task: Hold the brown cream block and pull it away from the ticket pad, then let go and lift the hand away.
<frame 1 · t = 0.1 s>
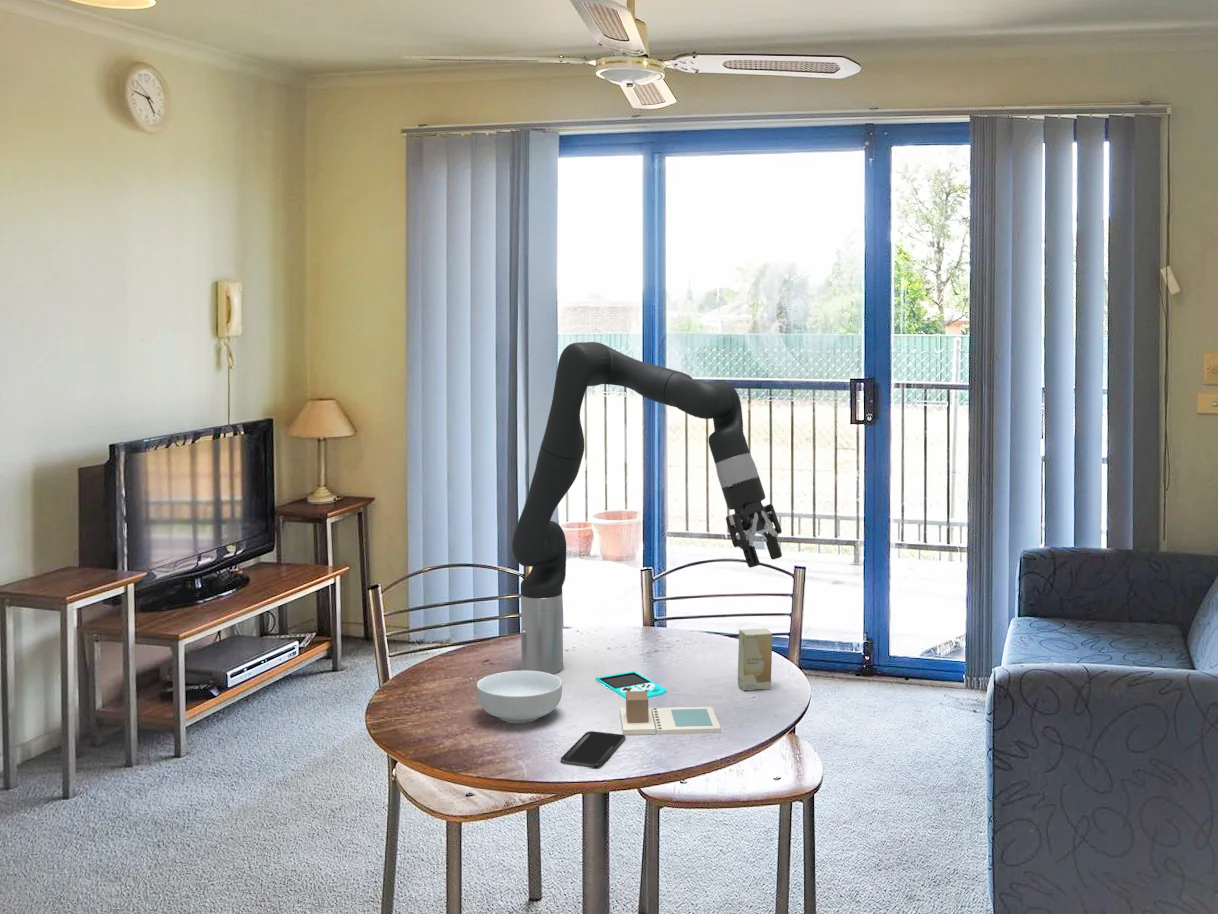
hand: (765, 562, 212), 31 cm above the table, tool tilted 20°, fingers open, 8 cm apart
ticket pad: (685, 722, 215), on the table
phone: (594, 754, 202), on the table
brown cream block: (637, 709, 215), point 3 cm above the table, slide at 0.0 cm
handheld game console: (631, 690, 237), on the table
skincare box: (754, 688, 236), on the table
cereal bowl: (520, 717, 220), on the table
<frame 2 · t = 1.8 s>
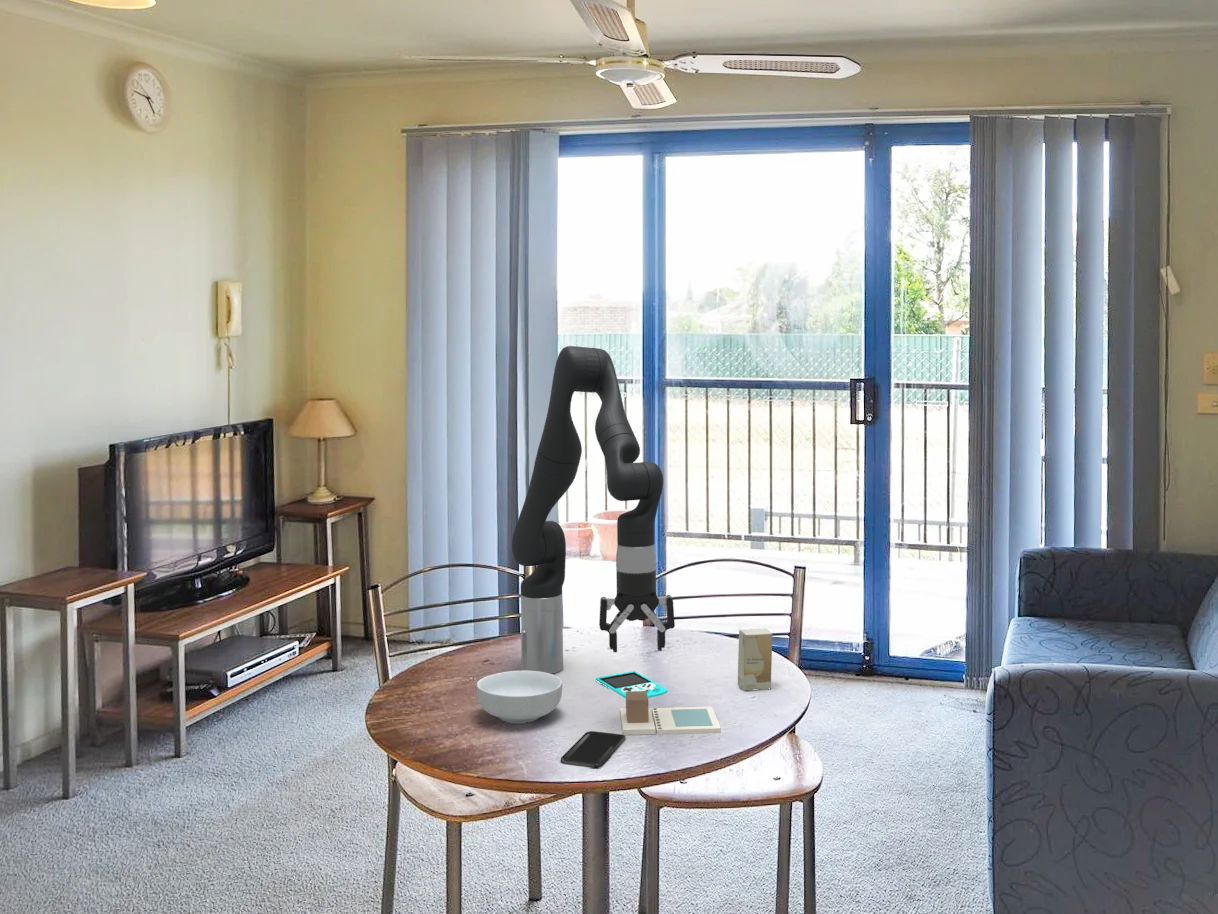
hand: (637, 650, 213), 15 cm above the table, tool pointing down, fingers open, 8 cm apart
nothing on the table moved.
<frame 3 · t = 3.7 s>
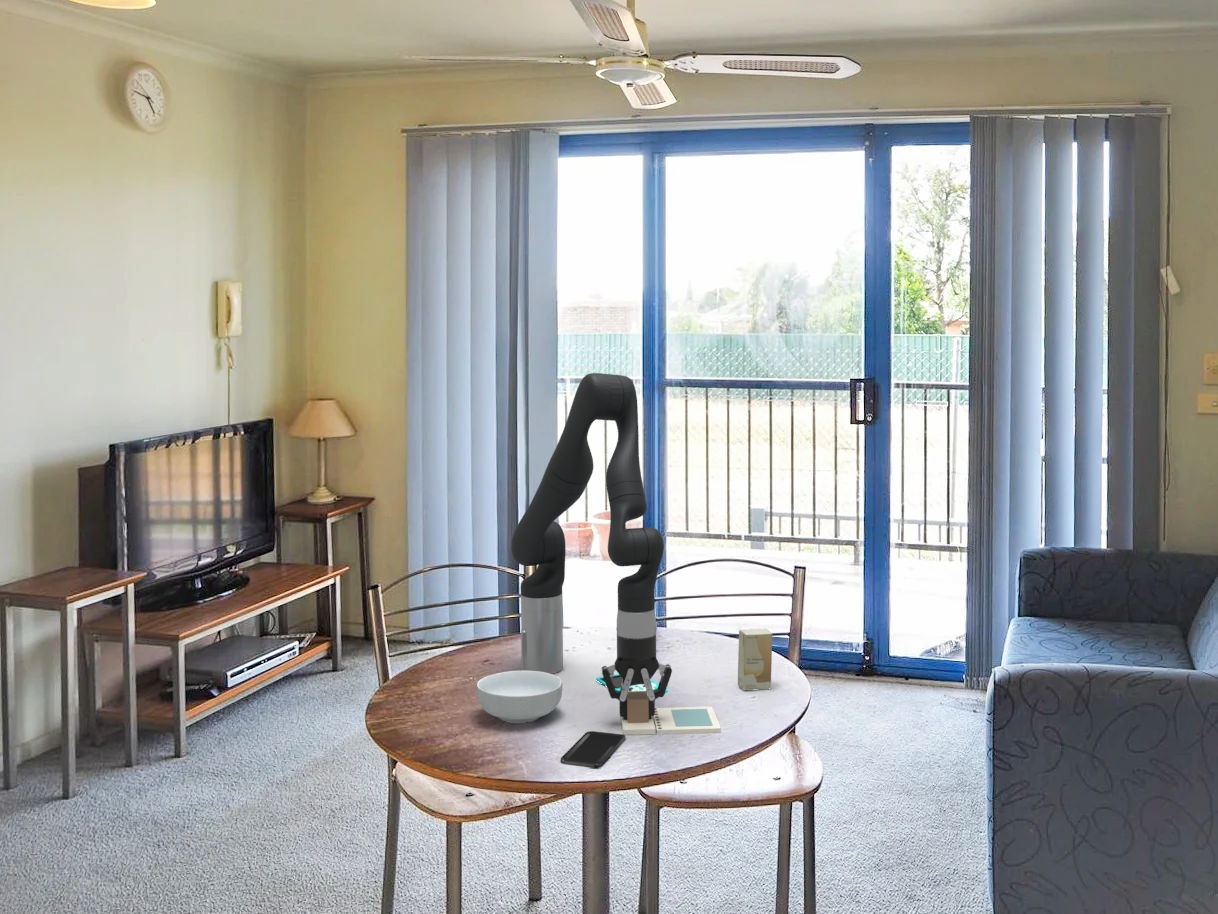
hand: (637, 717, 215), 1 cm above the table, tool pointing down, fingers closed on brown cream block, 4 cm apart
brown cream block: (637, 709, 215), point 3 cm above the table, slide at 0.0 cm, touching gripper
everything else where it was.
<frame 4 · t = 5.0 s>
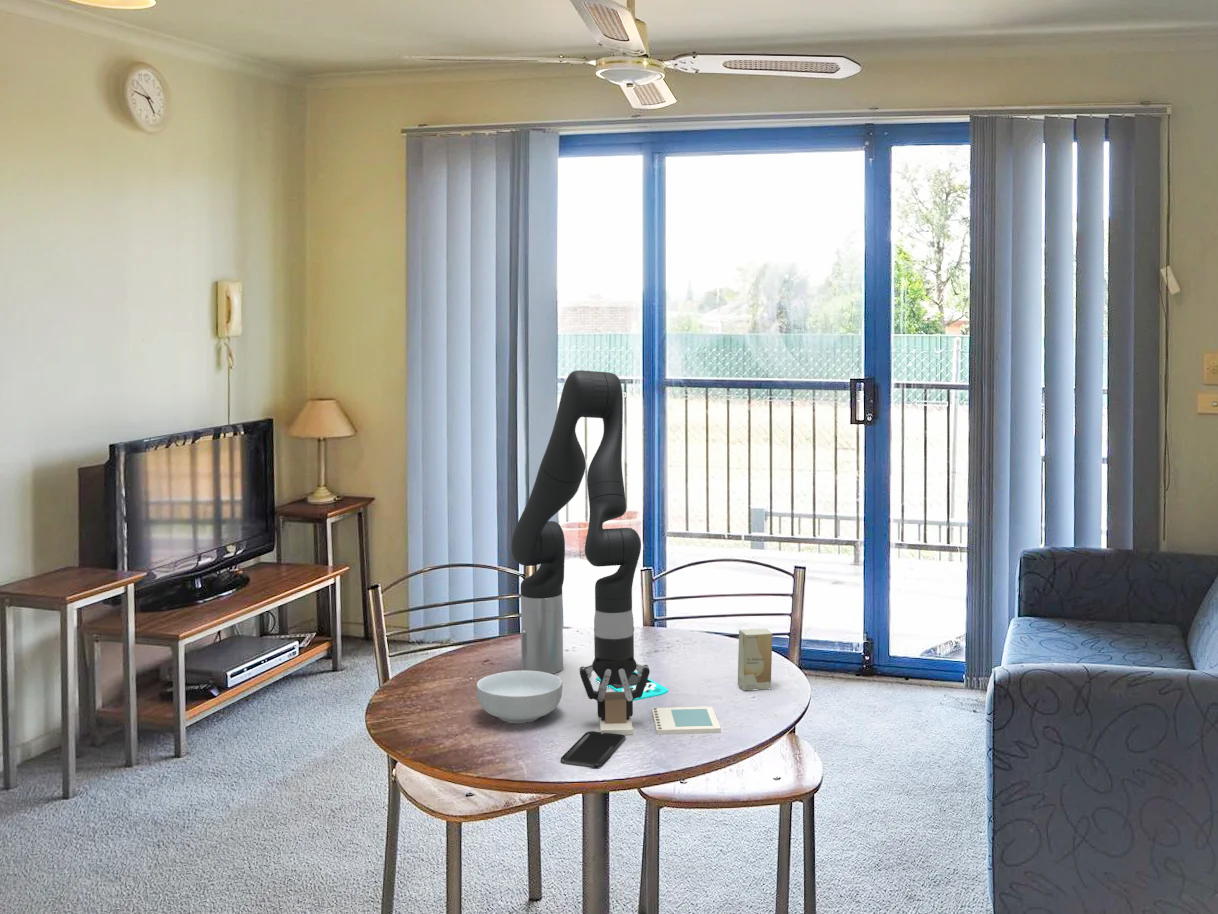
hand: (615, 718, 215), 1 cm above the table, tool pointing down, fingers closed on brown cream block, 4 cm apart
brown cream block: (615, 709, 214), point 3 cm above the table, slide at 4.2 cm, touching gripper
everything else where it was.
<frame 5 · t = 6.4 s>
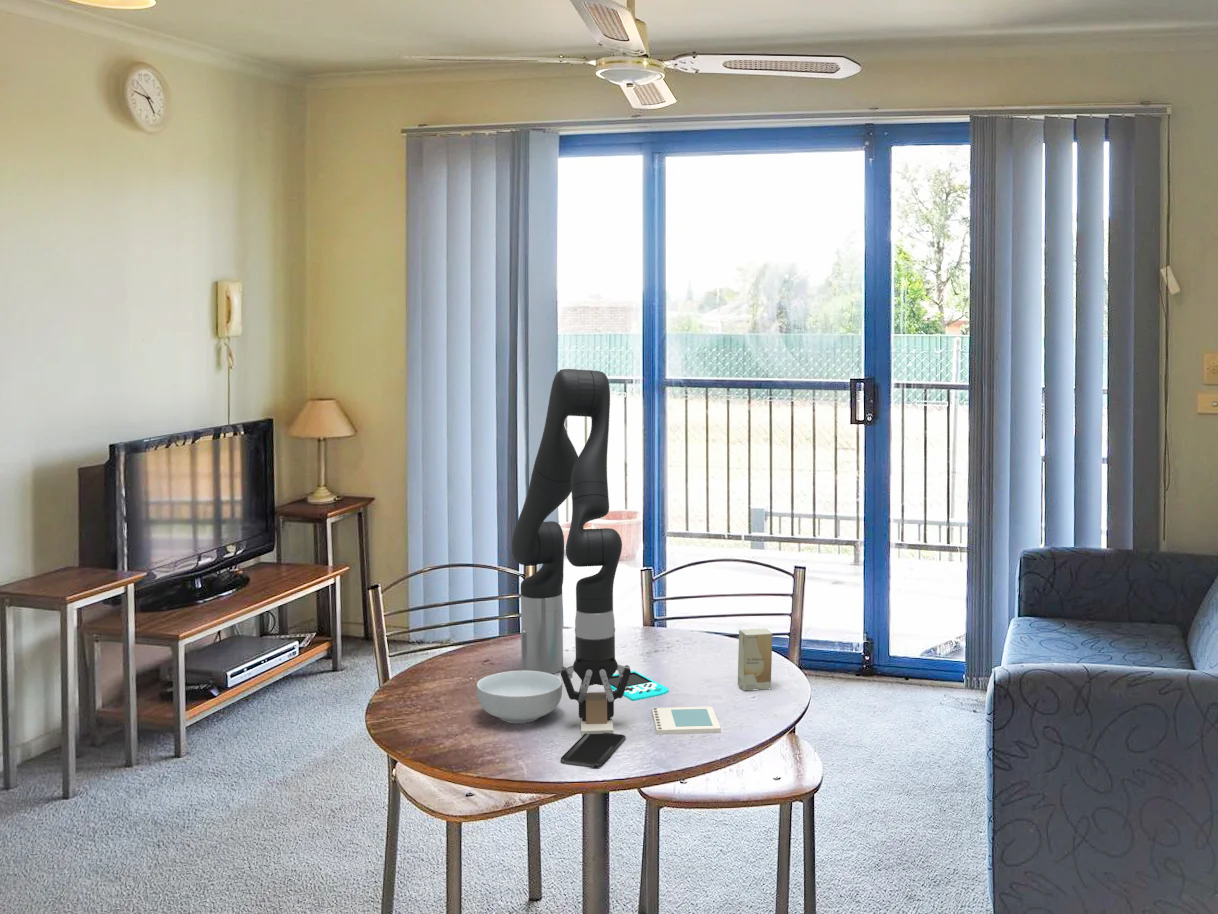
hand: (596, 718, 214), 1 cm above the table, tool pointing down, fingers closed on brown cream block, 4 cm apart
brown cream block: (596, 710, 214), point 3 cm above the table, slide at 7.9 cm, touching gripper
everything else where it was.
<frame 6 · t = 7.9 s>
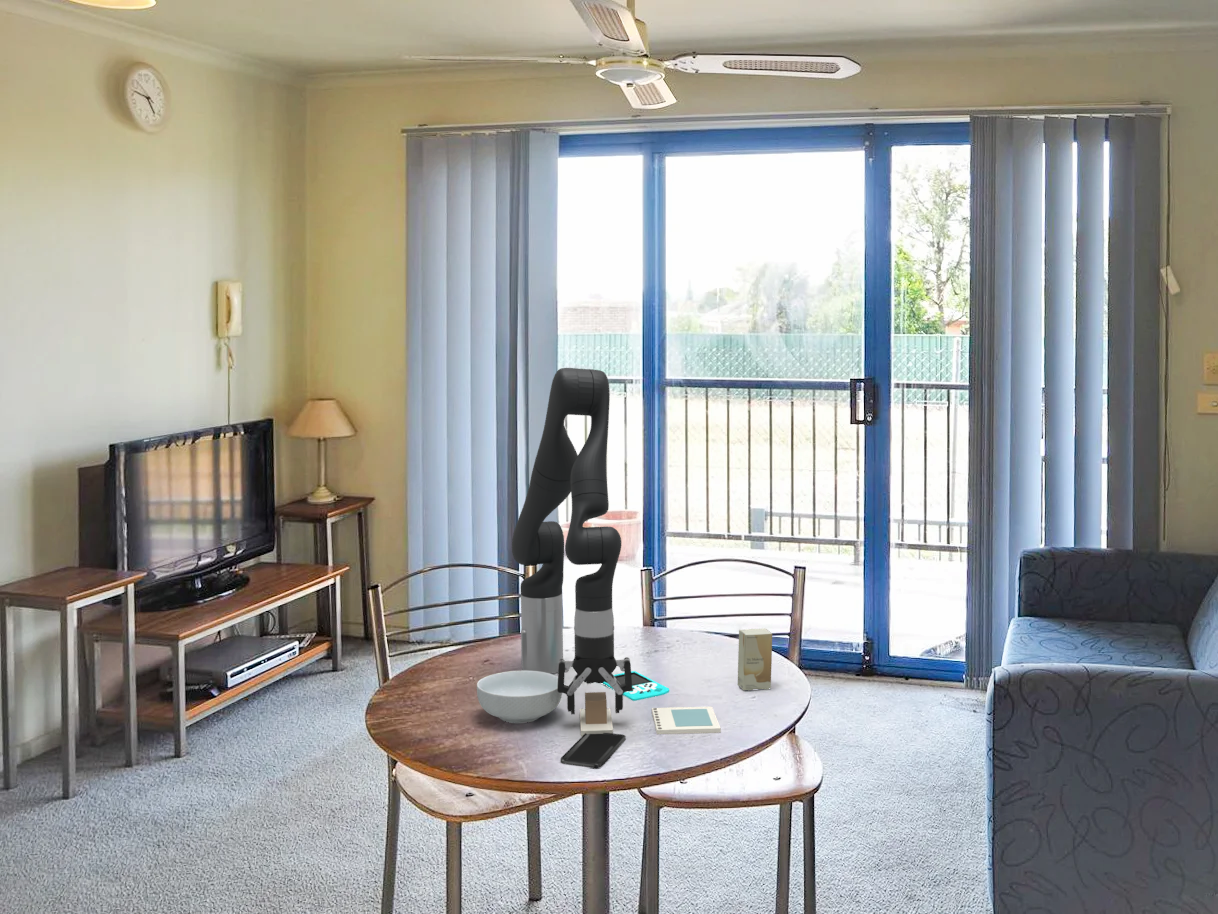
hand: (595, 712, 214), 3 cm above the table, tool pointing down, fingers open, 8 cm apart
brown cream block: (595, 710, 214), point 3 cm above the table, slide at 7.9 cm
everything else where it was.
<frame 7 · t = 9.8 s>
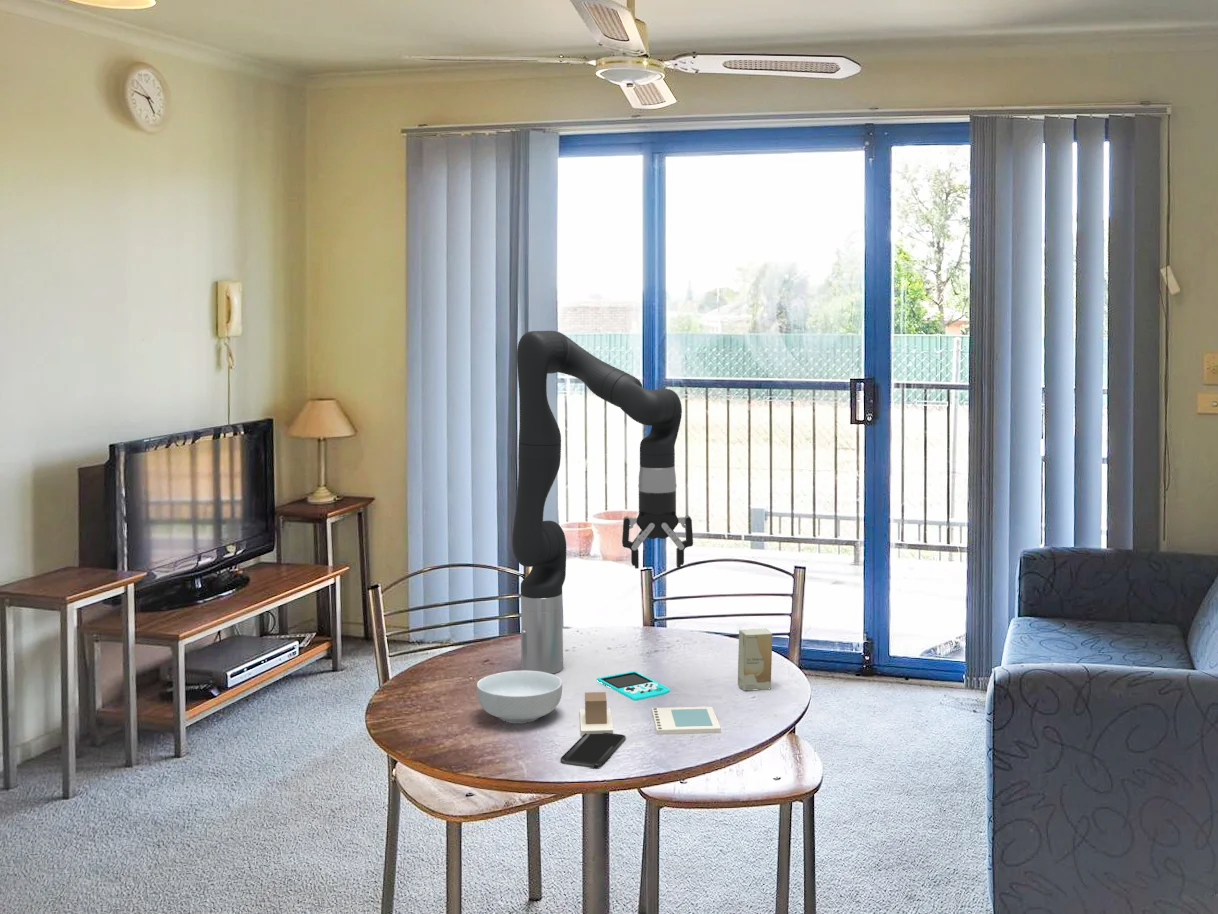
hand: (657, 567, 227), 27 cm above the table, tool pointing down, fingers open, 8 cm apart
nothing on the table moved.
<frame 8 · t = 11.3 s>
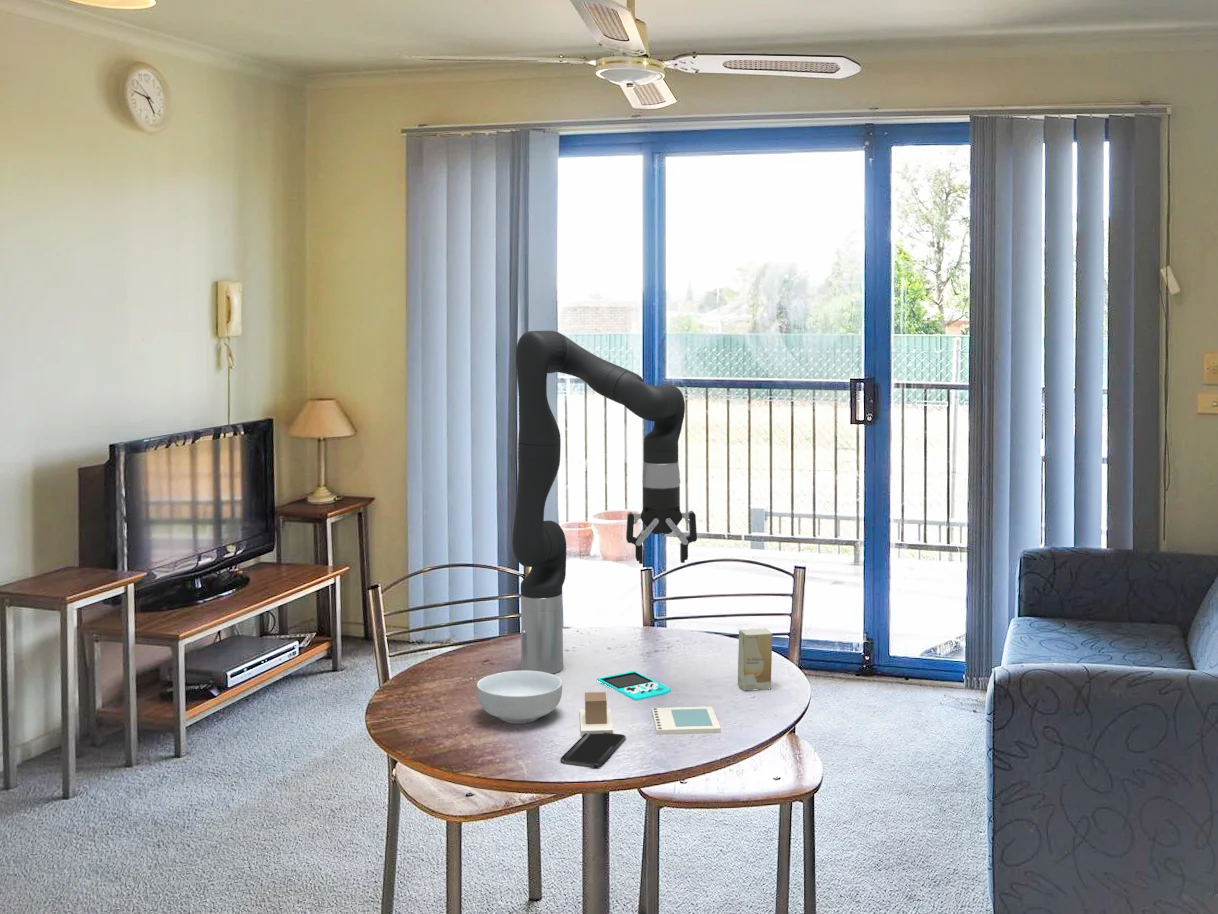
hand: (661, 562, 228), 28 cm above the table, tool pointing down, fingers open, 8 cm apart
nothing on the table moved.
at the end: brown cream block slide at 7.9 cm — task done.
